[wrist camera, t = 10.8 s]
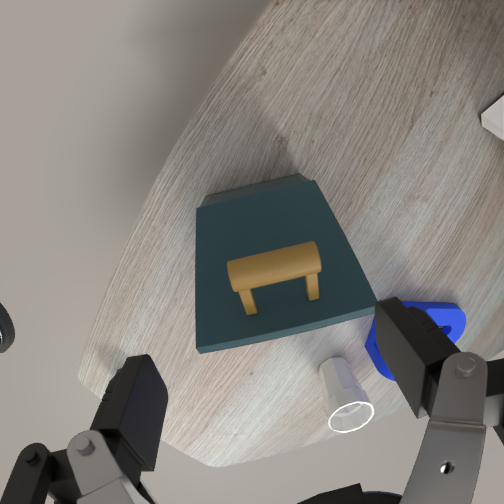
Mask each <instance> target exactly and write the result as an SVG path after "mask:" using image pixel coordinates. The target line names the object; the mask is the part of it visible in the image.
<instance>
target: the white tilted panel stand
mask: <svg viewBox="0 0 504 504" xmlns="http://www.w3.org/2000/svg"><path fill="white" fill-rule="evenodd" d="M481 120H482V126H483V127H484V128H486V129H487V130H489V131H490V132H492V133H493V134H494V135H496V136H497V137H499V138H500V139H502V140H503V141H504V96H502V97H501V98H500V99H499V100H498V101H496V102H495V103H494V104H493V105H492V106H490V107H489V108H488V109H487V110H486V111H484V112H483V113H482V114H481Z"/></svg>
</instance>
